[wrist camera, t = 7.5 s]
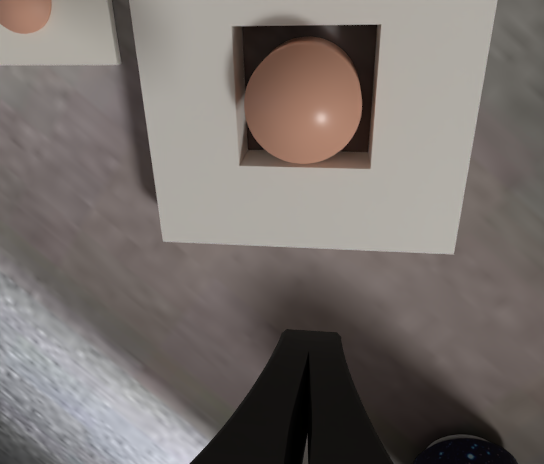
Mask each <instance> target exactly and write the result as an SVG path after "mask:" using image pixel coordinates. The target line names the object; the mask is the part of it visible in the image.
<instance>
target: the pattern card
mask: <svg viewBox="0 0 544 464" xmlns="http://www.w3.org/2000/svg"><path fill="white" fill-rule="evenodd" d="M119 64H121V57H120V51H119V44H118V38H117V32H116V25H115V19H114V12H113V6H112V0H0V65H119Z"/></svg>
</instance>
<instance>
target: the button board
mask: <svg viewBox="0 0 544 464" xmlns="http://www.w3.org/2000/svg"><path fill="white" fill-rule="evenodd" d="M129 4H130V11H131V19H132V26H133V33H134V40H135V47H136V54H137V61H138V68H139V75H140V82H141V89H142V96H143V103H144V110H145V117H146V125H147V132H148V139H149V146H150V153H151V160H152V167H153V174H154V181H155V188H156V195H157V202H158V209H159V216H160V223H161V231H162V238H163V242H185V243H207V244H230V245H253V246H276V247H298V248H321V249H344V250H367V251H390V252H412V253H435V254H454V250H455V244H456V238H457V232H458V226H459V221H460V215H461V209H462V203H463V197H464V191H465V186H466V180H467V174H468V168H469V162H470V157H471V151H472V145H473V139H474V133H475V128H476V122H477V116H478V110H479V104H480V98H481V93H482V87H483V81H484V75H485V69H486V64H487V58H488V52H489V46H490V40H491V35H492V29H493V23H494V17H495V11H496V5H497V0H129ZM295 25H377V36H376V50H375V64H374V78H373V92H372V106H371V120H370V134H369V148H368V152H341V151H339V152H338V153H337V154H335V155H333V156H332V157H330V158H327V159H325V160H323V161H319V162H316V163H310V164H298V163H291V162H287V161H284V160H281V159H279V158H277V157H275V156H273V155H272V154H270V153H269V152H267V151H266V150H248V140H247V121H246V117H245V110H244V98H245V75H244V53H243V31H242V26H295Z"/></svg>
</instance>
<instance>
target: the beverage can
mask: <svg viewBox="0 0 544 464" xmlns="http://www.w3.org/2000/svg"><path fill="white" fill-rule="evenodd" d="M413 464H518V463H517V461H516V459H515V458H514V457H513V456H512V455H511V454H510V453H509V452H508V451H507V450H505V449H504V448H502V447H500V446H498V445H496V444H493V443H491V442H489V441H487V440H485V439H483V438H480V437H477V436H473V435H466V434H458V435H450V436H446V437H443V438H440V439H438V440H436V441H434V442H433V443H431V444H430V445H429V446H428V447H427V448H426V449H425V450H424V451H423V452H422V453H421V454H419V456H418V457H417V458H416V459H415V461H414V462H413Z"/></svg>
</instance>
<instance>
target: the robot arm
mask: <svg viewBox="0 0 544 464" xmlns="http://www.w3.org/2000/svg"><path fill="white" fill-rule="evenodd" d="M307 433H308V464H393V462H392V460H391V459H390V457H389V455H388V453H387V452H386V450H385V448H384V446H383V445H382V443H381V441H380V439H379V437H378V435H377V433H376V432H375V430H374V428H373V426H372V424H371V422H370V420H369V418H368V416H367V413H366V411H365V409H364V407H363V405H362V402H361V400H360V398H359V395H358V393H357V390H356V388H355V386H354V383H353V380H352V378H351V375H350V372H349V369H348V366H347V363H346V360H345V356H344V352H343V348H342V343H341V336H340V335H339V334H338V333H335V332H320V331H304V330H289V329H287V330H285V331H284V332H283V333H282V334H281V337H280V340H279V342H278V344H277V346H276V348H275V350H274V352H273V354H272V356H271V358H270V359H269V361H268V363H267V365H266V366H265V368H264V370H263V371H262V373H261V374H260V376H259V378H258V379H257V381H256V382H255V384H254V385H253V387H252V389H251V390H250V392H249V393H248V394H247V396H246V397H245V398H244V400H243V401H242V403H241V404H240V405H239V407H238V408H237V409H236V411H235V412H234V414H233V415H232V416H231V417H230V419H229V420H228V421H227V422H226V424H225V425H224V426H223V427H222V429H221V430H220V431H219V432H218V433H217V435H216V436H215V437H214V438H213V439H212V440H211V441H210V443H209V444H208V445H207V446H206V447H205V448H204V449H203V450H202V451H201V452H200V453H199V454H198V455H197V456H196V457H195V459H194V460H193V461H192V462H191V463H190V464H302V463H303V457H304V451H305V445H306V439H307Z"/></svg>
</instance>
